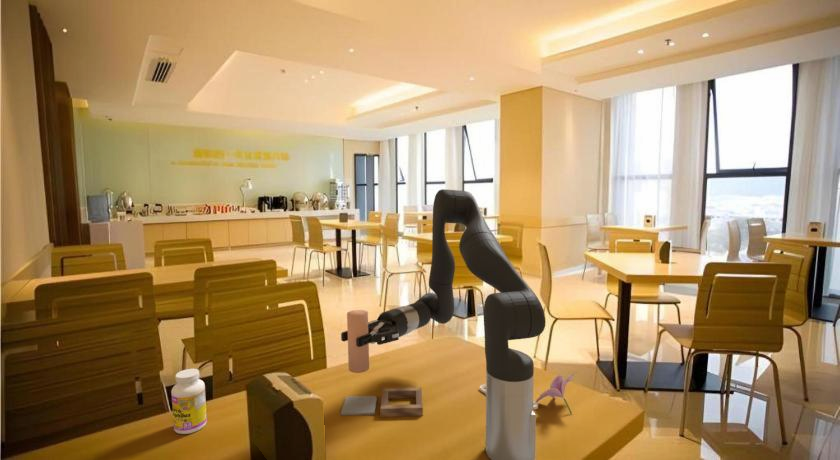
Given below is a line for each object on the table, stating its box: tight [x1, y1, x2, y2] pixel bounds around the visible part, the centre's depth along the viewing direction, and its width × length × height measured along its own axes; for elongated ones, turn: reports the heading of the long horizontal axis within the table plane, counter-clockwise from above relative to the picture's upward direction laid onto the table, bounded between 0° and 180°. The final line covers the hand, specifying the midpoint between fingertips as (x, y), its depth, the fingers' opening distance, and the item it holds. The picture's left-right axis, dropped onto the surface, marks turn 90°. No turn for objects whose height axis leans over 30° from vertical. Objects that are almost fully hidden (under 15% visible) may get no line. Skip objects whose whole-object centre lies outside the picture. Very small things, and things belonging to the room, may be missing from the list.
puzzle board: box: [379, 387, 424, 418], centre depth 104 cm, size 10×10×2 cm
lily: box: [534, 372, 576, 415], centre depth 102 cm, size 12×12×10 cm
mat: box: [340, 395, 378, 416], centre depth 104 cm, size 8×8×1 cm
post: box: [346, 309, 370, 374], centre depth 102 cm, size 5×5×14 cm
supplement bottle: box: [170, 368, 208, 435], centre depth 95 cm, size 7×7×13 cm
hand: (349, 339), depth 100 cm, fingers closed on post, 5 cm apart
